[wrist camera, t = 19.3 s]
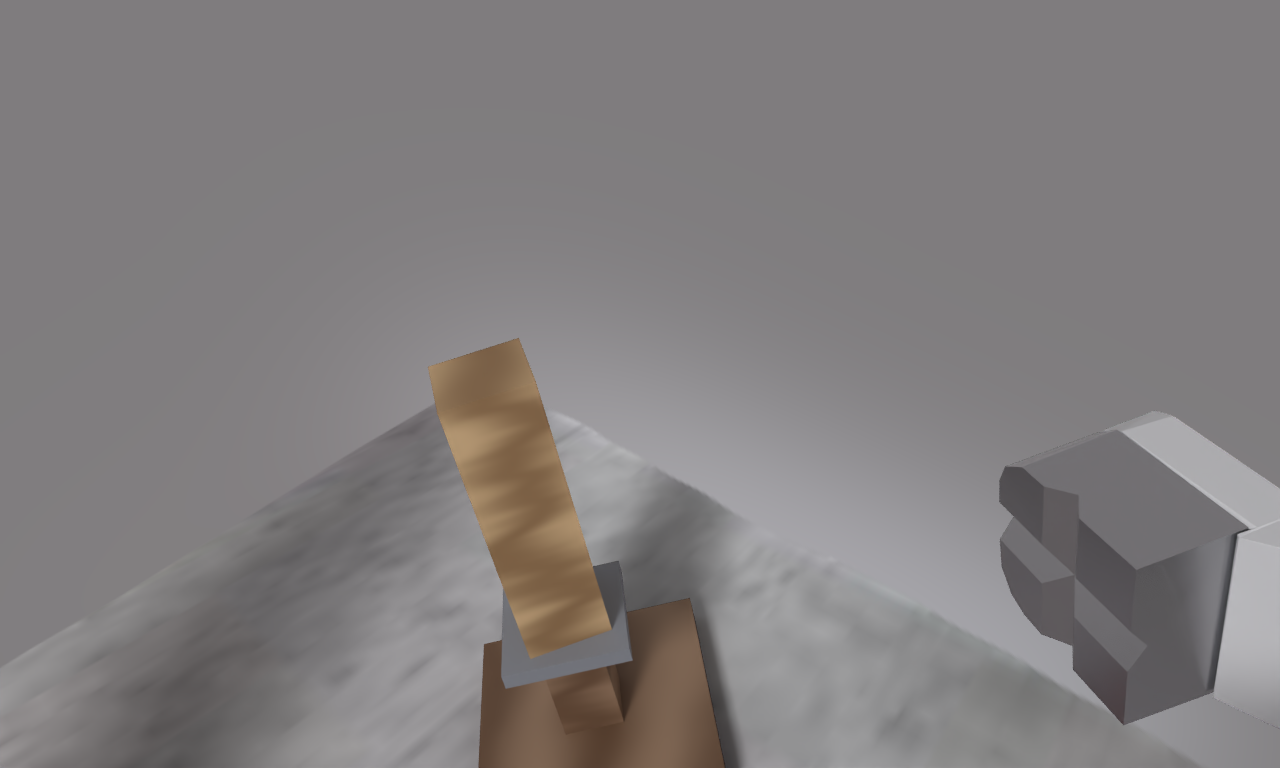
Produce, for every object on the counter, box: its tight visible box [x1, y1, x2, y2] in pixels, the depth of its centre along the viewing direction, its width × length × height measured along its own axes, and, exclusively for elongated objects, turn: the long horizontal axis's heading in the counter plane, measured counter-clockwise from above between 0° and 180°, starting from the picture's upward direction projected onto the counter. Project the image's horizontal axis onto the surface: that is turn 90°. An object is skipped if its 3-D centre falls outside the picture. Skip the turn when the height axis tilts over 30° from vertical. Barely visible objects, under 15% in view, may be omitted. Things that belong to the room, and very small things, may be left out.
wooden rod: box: [428, 338, 612, 659], centre depth 44 cm, size 4×4×14 cm
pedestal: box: [479, 561, 725, 768], centre depth 50 cm, size 12×12×8 cm
